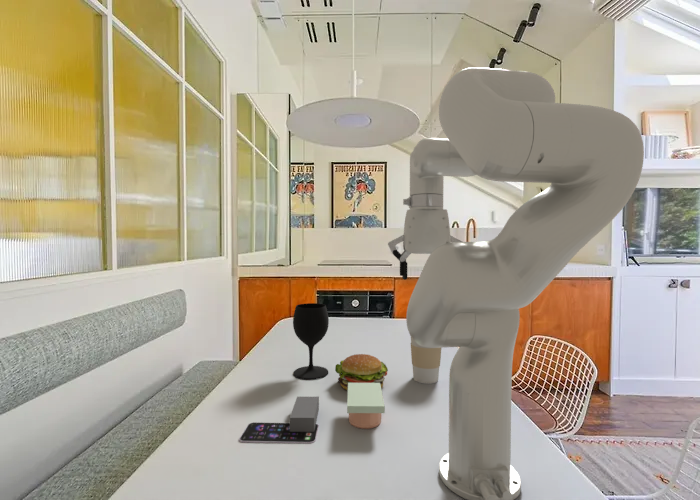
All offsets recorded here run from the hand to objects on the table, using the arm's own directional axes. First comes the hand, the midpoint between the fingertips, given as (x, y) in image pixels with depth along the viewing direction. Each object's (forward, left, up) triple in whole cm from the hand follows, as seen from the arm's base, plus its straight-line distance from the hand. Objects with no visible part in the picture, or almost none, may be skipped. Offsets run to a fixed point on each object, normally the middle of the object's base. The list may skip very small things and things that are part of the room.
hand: (425, 279), depth 83 cm
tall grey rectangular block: (-5, +27, -30) cm, 41 cm away
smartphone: (-10, +31, -31) cm, 45 cm away
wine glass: (+23, +29, -31) cm, 48 cm away
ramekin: (-5, +14, -30) cm, 34 cm away
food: (+15, +14, -31) cm, 37 cm away
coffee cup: (+19, -4, -31) cm, 36 cm away
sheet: (-5, +14, -26) cm, 30 cm away
